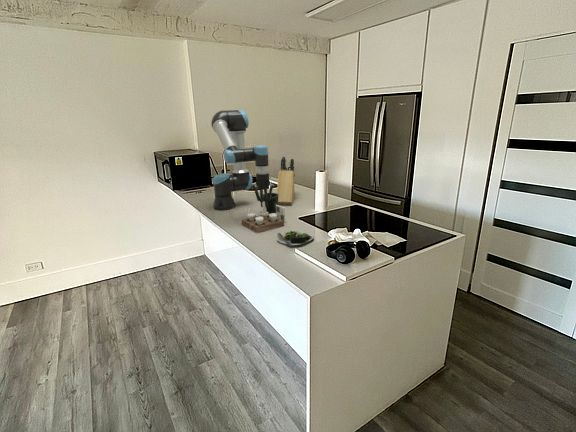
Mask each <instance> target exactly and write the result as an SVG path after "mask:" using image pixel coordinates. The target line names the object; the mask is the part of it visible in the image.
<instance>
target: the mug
mask: <svg viewBox="0 0 576 432" xmlns="http://www.w3.org/2000/svg"><path fill="white" fill-rule="evenodd" d="M268 196H269V192H267V198H268ZM278 196H279V194H277V192H272V194H271V199H270V201H268V206H267V207H266V212H268V214H271V213H276V205H279V206H280V204H279V203H278ZM263 201H265V197H264V193H263Z"/></svg>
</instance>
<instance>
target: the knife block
mask: <svg viewBox="0 0 576 432" xmlns="http://www.w3.org/2000/svg"><path fill="white" fill-rule="evenodd" d="M294 161H295V160H294V158H291V159H290V161H289V162H290V163H289V166H288V167H287V166H286V162H287V161H286V157H285V156H282V158H281V160H280V170H279V171H278V175H277V176H278V177H277V186H276V187H277V188H276V193H277V194H279V196H278V203H279V205H289V206H291V205H292V204H293V202H294V198H295V179H296V178H295V176H296V174H295V166H294V165H295V163H294Z"/></svg>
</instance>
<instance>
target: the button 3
mask: <svg viewBox="0 0 576 432" xmlns="http://www.w3.org/2000/svg"><path fill="white" fill-rule="evenodd" d="M260 215H261V216H262V217H263V219H265V218H267V216H268V212H266V213H263V211H261V212H260Z"/></svg>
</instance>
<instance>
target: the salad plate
mask: <svg viewBox="0 0 576 432" xmlns="http://www.w3.org/2000/svg"><path fill="white" fill-rule="evenodd" d="M277 235H278V236H277ZM277 235H276V236H277V238H276V240H277V242H279V243H280V244H283V245H285V246H288V247H291V248H301V247H304V246H306V245H308V244H310V243H312V241H314V236H313V235H312V234H309V233H307V232H306V233H305V232H302V231H297V230H293V231H292V230H290V231H287V232H286V231H284V234H282V233H281V232H278V233H277ZM303 245H304V246H303ZM300 246H301V247H300Z"/></svg>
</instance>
